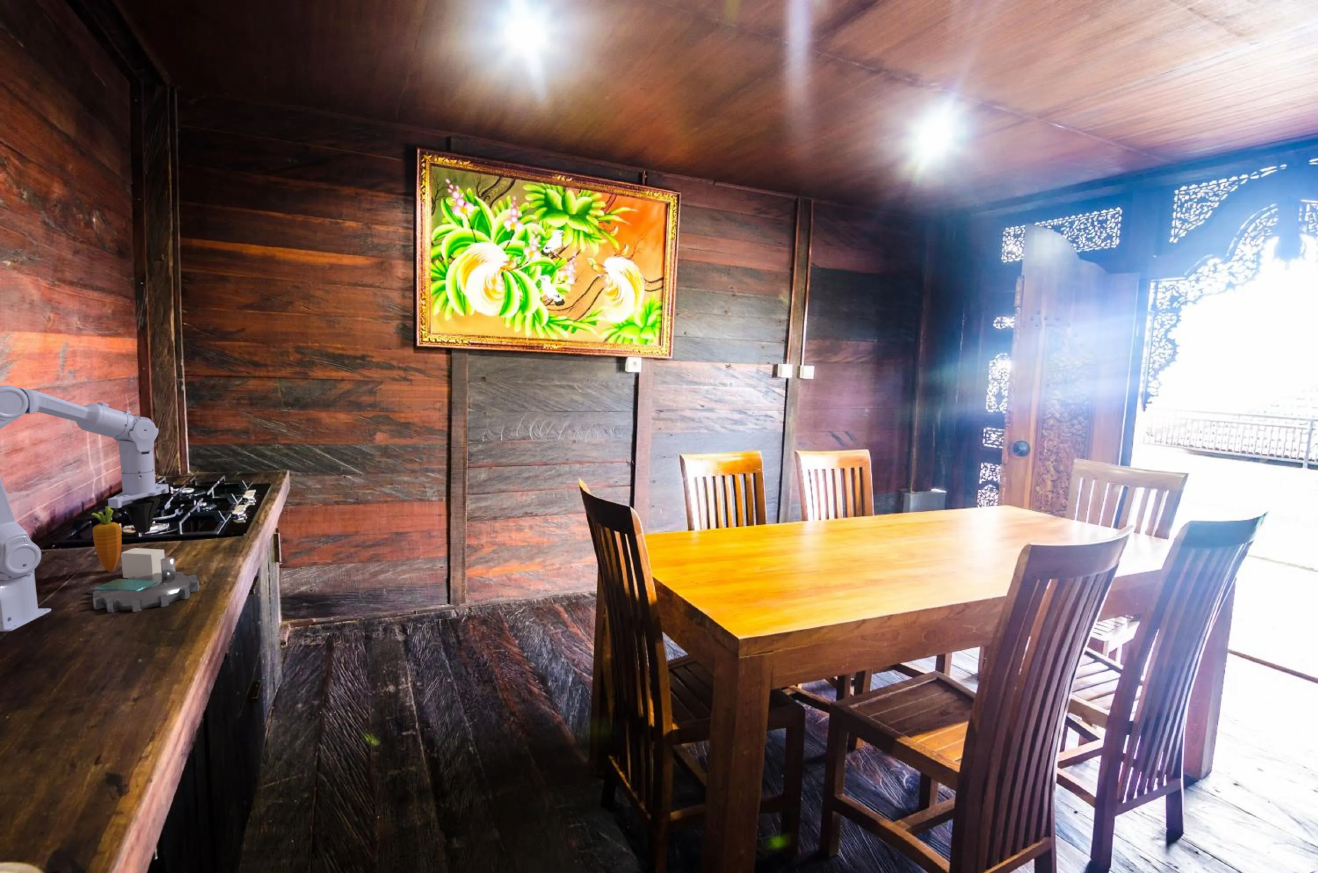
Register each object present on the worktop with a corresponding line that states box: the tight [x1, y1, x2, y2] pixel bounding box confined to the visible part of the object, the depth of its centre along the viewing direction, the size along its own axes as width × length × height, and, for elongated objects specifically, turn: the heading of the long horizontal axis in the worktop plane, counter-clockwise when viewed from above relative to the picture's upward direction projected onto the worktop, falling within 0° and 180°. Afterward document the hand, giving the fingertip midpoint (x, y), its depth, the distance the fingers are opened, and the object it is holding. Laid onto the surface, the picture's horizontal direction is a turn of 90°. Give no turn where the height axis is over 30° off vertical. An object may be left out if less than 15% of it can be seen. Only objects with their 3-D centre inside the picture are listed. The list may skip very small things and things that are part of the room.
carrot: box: [91, 505, 123, 573], centre depth 150 cm, size 5×5×15 cm
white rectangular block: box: [120, 547, 166, 579], centre depth 149 cm, size 7×4×6 cm, turn 86°
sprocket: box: [92, 556, 200, 614], centre depth 138 cm, size 17×17×6 cm
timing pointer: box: [87, 586, 103, 595], centre depth 139 cm, size 3×1×1 cm, turn 86°
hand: (143, 532), depth 147 cm, fingers closed
